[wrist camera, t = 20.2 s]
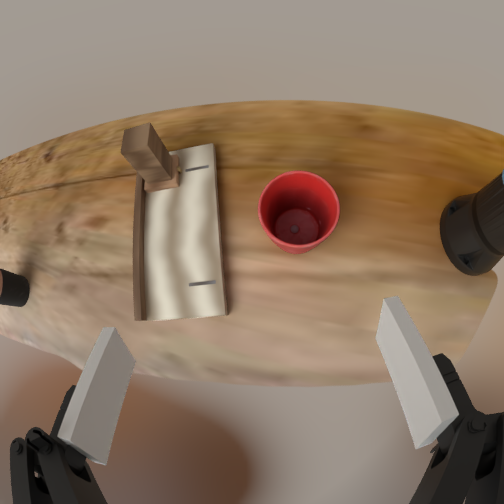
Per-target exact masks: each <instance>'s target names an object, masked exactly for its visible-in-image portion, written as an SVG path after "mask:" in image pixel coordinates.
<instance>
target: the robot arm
mask: <svg viewBox="0 0 504 504" xmlns="http://www.w3.org/2000/svg"><path fill="white" fill-rule="evenodd" d="M440 234H441V240H442V244H443V247H444V249H445V252H446V254H447V256H448V257H449V259H450V261H451V262H452V263H453V264H454V266H455V267H456V268H457V269H459V270H460V271H461V272H463V273H465V274H467V275H471V276H477V275H480V274H483V273H486V272H488V271H489V270H491V269H492V268H493V267H494V266H495V265H496V264H497V263H498V261H499V260H500V259H501V258H502V257H503V256H504V169H503V172H502V173H501V174H500V175H498V176H497V177H496V178H495V179H494V180H492V181H491V182H490V183H489V184H487V185H486V186H485V187H484V188H482V189H481V190H480V191H479V192H478V193H473V194H468V195H463V196H459V197H457V198H455V199H454V200H453V201H451V202H450V203H449V204H448V205H447V206H446V207H445V209H444V211H443V213H442V216H441V220H440ZM376 341H377V343H378V346H379V348H380V350H381V353H382V355H383V358H384V360H385V363H386V365H387V368H388V370H389V373H390V376H391V378H392V381H393V384H394V386H395V389H396V392H397V394H398V397H399V400H400V403H401V406H402V408H403V411H404V414H405V417H406V420H407V423H408V426H409V429H410V432H411V436H412V438H413V442H414V445H415V448H416V449H418V448H421V447H423V446H426V445H428V444H431V443H432V442H433V441H434V440H435V439H436V438H437V440H438V444H437V445H436V446H435V447H434V448H433V449H432V450H431V452H430V453H433V452H434V451H435V452H434V454H433V456H432V459H431V461H430V463H429V466H428V468H427V470H426V472H425V474H424V476H423V478H422V480H421V483H420V484H419V486H418V488H417V490H416V492H415V494H414V496H413V497H412V499H411V501H410V503H409V504H463V502H464V499H465V497H466V500H465V504H504V412H502V413H496V414H489V415H485V414H484V413H481V412H480V411H477V410H476V409H475V408H474V406H473V405H472V403H471V400H470V398H469V396H468V394H467V392H466V390H465V388H464V386H463V384H462V382H461V380H460V379H459V376H458V374H457V372H456V370H455V368H454V366H453V364H452V362H451V361H450V360H449V359H448V358H447V357H446V356H445V355H444V354H443V353H441V354H438V355H436V356H432V355H431V354H430V352H429V350H428V348H427V346H426V344H425V342H424V340H423V339H422V337H421V335H420V333H419V331H418V329H417V328H416V326H415V324H414V322H413V321H412V319H411V317H410V315H409V314H408V312H407V310H406V309H405V307H404V305H403V304H402V302H401V300H400V299H399V297H398V296H394V297H389V298H384V299H383V305H382V310H381V315H380V320H379V325H378V329H377V334H376ZM135 362H136V361H135V359H134V358H133V356H132V354H131V353H130V351H129V350H128V348H127V346H126V345H125V343H124V342H123V340H122V338H121V337H120V335H119V333H118V331H117V330H116V328H115V327H103V329H102V331H101V333H100V335H99V337H98V339H97V341H96V343H95V345H94V348H93V350H92V352H91V354H90V356H89V358H88V361H87V363H86V365H85V367H84V370H83V372H82V374H81V377H80V379H79V381H78V383H77V386H75V385H73V386H72V387H71V388H70V389H69V390H68V391H67V393H66V395H65V397H64V400H63V403H62V405H61V407H60V410H59V412H58V415H57V417H56V420H55V423H54V426H53V428H52V431H51V434H50V435H48V434H47V433H45V432H44V431H43V430H41V429H40V428H38V427H34V428H32V429H30V430H29V431H28V433H27V434H26V437H25V440H24V439H22V438H16V439H14V440H13V441H12V443H11V447H10V470H11V486H12V496H13V504H107V502H106V500H105V498H104V496H103V494H102V492H101V490H100V488H99V486H98V484H97V482H96V480H95V478H94V476H93V474H92V471H91V469H90V467H89V465H88V463H87V462H86V461H85V460H86V457H87V458H88V459H90V460H91V461H93V462H96V463H99V464H103V465H106V464H107V460H108V455H109V452H110V448H111V444H112V439H113V436H114V432H115V428H116V424H117V421H118V418H119V414H120V411H121V407H122V404H123V400H124V397H125V394H126V390H127V387H128V384H129V381H130V378H131V375H132V372H133V368H134V365H135ZM34 471H35V472H37V473H38V477H35V473H34Z"/></svg>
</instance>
